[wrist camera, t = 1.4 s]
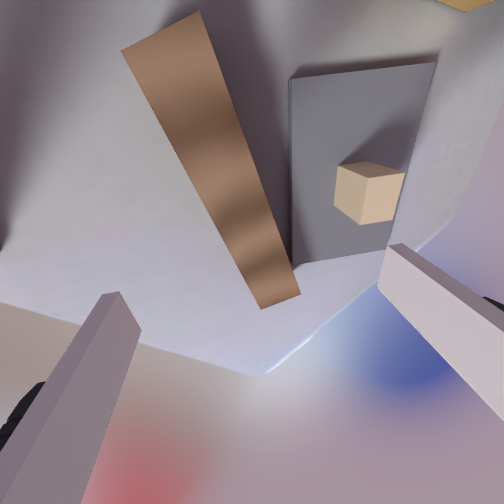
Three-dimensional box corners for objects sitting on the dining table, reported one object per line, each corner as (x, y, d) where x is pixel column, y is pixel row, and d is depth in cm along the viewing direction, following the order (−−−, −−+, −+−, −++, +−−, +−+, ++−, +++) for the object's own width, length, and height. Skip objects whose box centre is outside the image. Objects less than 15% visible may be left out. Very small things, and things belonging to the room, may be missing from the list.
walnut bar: (142, 65, 16) (120, 50, 13) (203, 35, 16) (199, 10, 12) (254, 284, 29) (260, 309, 26) (289, 270, 29) (301, 294, 25)
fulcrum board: (288, 80, 18) (316, 67, 13) (426, 64, 19) (504, 45, 13) (290, 260, 28) (307, 293, 22) (380, 245, 28) (416, 273, 23)
